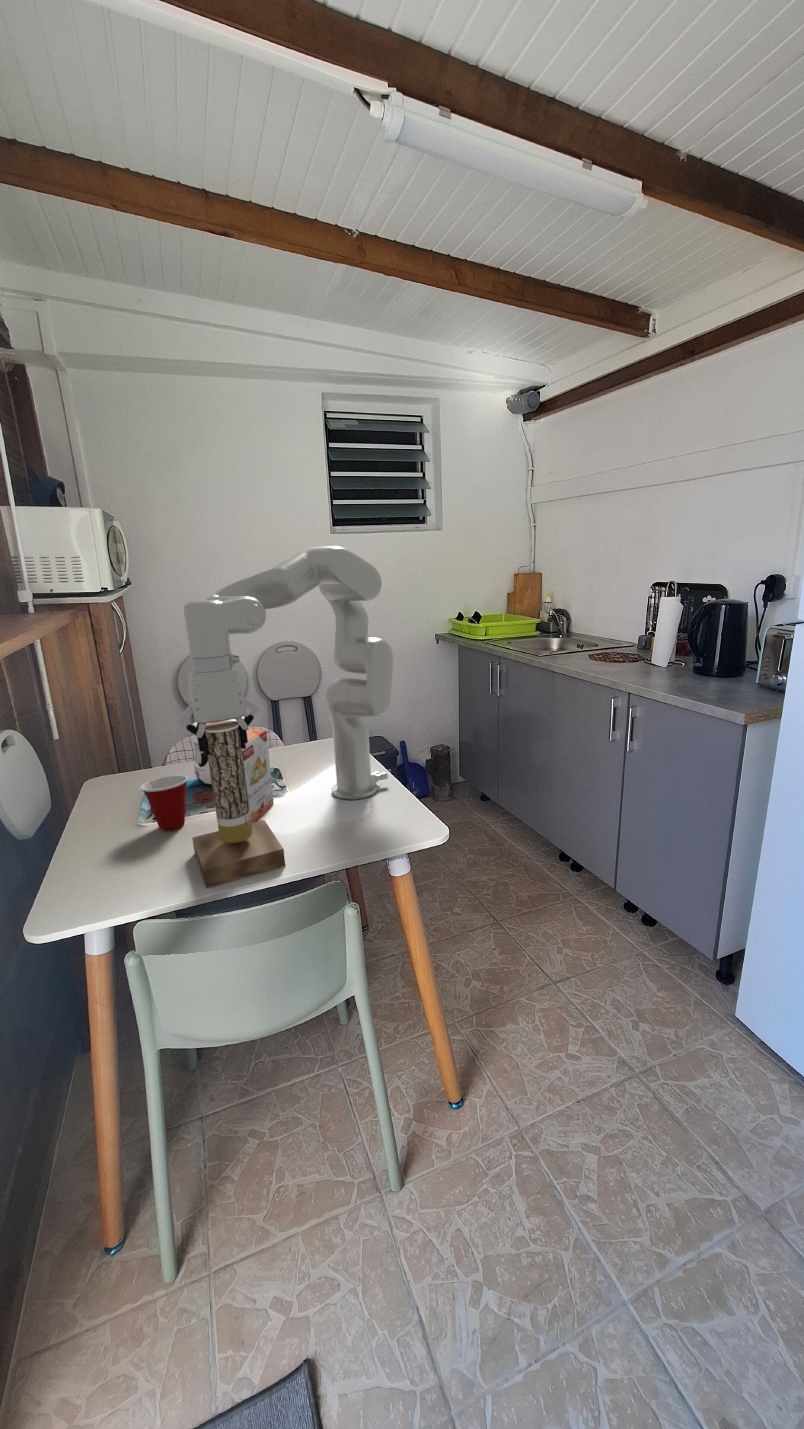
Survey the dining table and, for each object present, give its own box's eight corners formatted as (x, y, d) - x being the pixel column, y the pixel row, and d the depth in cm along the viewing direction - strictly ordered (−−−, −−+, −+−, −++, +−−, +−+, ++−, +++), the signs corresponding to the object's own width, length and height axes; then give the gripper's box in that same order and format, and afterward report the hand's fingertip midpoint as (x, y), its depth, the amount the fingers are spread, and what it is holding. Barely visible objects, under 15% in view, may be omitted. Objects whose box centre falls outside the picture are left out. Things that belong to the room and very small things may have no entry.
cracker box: (251, 828, 134) (241, 746, 129) (229, 827, 136) (217, 745, 130) (275, 804, 148) (267, 728, 142) (254, 803, 149) (245, 728, 143)
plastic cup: (183, 812, 145) (177, 769, 142) (202, 824, 137) (195, 779, 134) (141, 827, 138) (132, 782, 135) (158, 840, 130) (150, 793, 127)
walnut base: (266, 835, 130) (264, 819, 129) (285, 865, 117) (283, 848, 116) (194, 853, 123) (192, 837, 122) (206, 888, 110) (203, 870, 109)
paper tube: (223, 848, 114) (206, 732, 108) (217, 834, 120) (200, 724, 114) (256, 839, 117) (241, 726, 111) (249, 826, 123) (234, 718, 117)
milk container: (266, 770, 173) (260, 714, 168) (238, 792, 157) (230, 731, 152) (216, 767, 177) (209, 713, 172) (184, 789, 161) (175, 729, 156)
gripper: (252, 656, 116) (262, 738, 121) (163, 667, 108) (177, 753, 113) (261, 661, 109) (271, 747, 114) (166, 673, 102) (181, 764, 107)
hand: (224, 749), depth 114 cm, fingers closed on paper tube, 6 cm apart
